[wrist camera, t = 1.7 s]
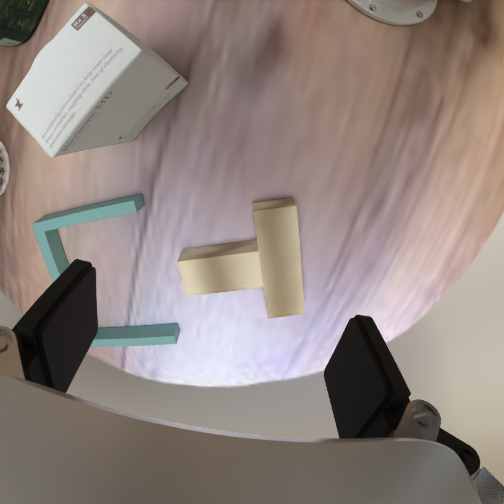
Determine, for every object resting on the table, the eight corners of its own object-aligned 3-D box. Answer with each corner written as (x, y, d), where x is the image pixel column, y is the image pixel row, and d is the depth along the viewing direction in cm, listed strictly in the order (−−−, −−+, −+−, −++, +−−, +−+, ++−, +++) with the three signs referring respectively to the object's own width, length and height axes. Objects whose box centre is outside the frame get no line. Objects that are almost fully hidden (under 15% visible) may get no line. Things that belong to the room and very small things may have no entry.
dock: (141, 193, 31) (133, 200, 28) (179, 330, 38) (176, 343, 36) (43, 216, 31) (32, 223, 29) (89, 335, 38) (83, 346, 36)
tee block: (292, 197, 31) (296, 205, 29) (300, 298, 36) (304, 313, 33) (174, 213, 32) (168, 223, 29) (198, 310, 37) (195, 326, 34)
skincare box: (133, 141, 28) (51, 170, 15) (95, 104, 26) (-1, 110, 13) (193, 80, 26) (145, 52, 13) (152, 42, 24) (80, -3, 11)
